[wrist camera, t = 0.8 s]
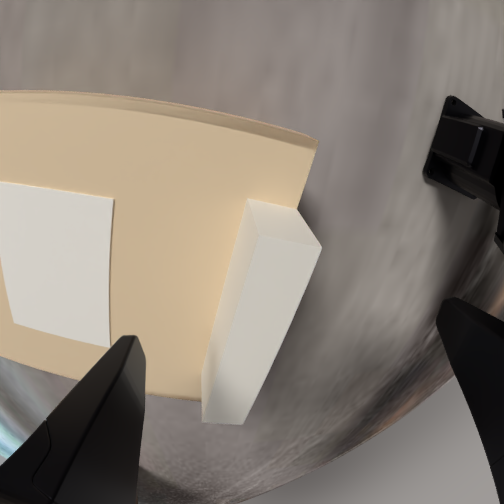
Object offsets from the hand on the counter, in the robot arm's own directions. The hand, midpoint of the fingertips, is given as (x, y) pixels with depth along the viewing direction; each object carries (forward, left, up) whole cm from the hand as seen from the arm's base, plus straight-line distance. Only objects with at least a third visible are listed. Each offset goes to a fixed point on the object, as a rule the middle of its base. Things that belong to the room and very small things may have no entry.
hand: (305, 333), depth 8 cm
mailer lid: (+7, +3, -7) cm, 11 cm away
